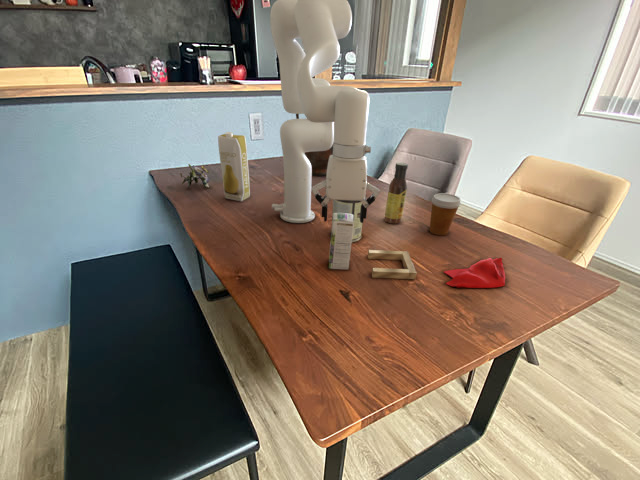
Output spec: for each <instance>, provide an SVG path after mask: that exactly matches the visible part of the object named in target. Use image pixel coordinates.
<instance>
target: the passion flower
mask: <svg viewBox="0 0 640 480" xmlns="http://www.w3.org/2000/svg"><path fill="white" fill-rule="evenodd" d="M188 167H189V168H190V170H191V171H189V172H188V174H189V175H187V176H184V175H183V173H182V172H179V175H180V177H181V178H184V179H183V181H182V183H181V185H184V184H185V183H186V182H187V189H189V188H190V186H191V185H192V183H193V182H194V183H195V184H198V183H199V179H200V180H201V182H202V185H203V186H204V188H207V189H210V186H209V182H210V181H209V180H210V179H209V178H208V177H209V176H208V175H207V174H210V172H209V170H208V169H207V168H206V167H205V165H201V168H199V167H198V166H197V165H193V164H192V165H191V164H190V163H188ZM206 173H207V174H206Z"/></svg>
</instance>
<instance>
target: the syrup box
mask: <svg viewBox="0 0 640 480" xmlns="http://www.w3.org/2000/svg"><path fill="white" fill-rule="evenodd" d="M353 227H354V215H353V214H348V213H333V222H332V221H331V230H332V231H331V230H330V231H331V233H330V244H329V257H328V269H329V270H346V271H347V270H349V268H350V260H351V251H352V243H353V242H352V236H353Z"/></svg>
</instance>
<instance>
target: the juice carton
mask: <svg viewBox="0 0 640 480" xmlns="http://www.w3.org/2000/svg"><path fill="white" fill-rule="evenodd" d="M217 141H218V142H217V143H218V152H219V153H218V154H219V162H220V169H221V170H220V171H221V179H222V186H223V195H224V198H225V199H227V200H232V201H238V202H244V201H246V200H247V199H248V198H250V196H251V188H250V187H251V186H250V185H251V183H250V171H249V160H248V146H247V139H246V135H244V134H243V135H242V134H234V133H233V132H232V131H226V132H224V133H222V134H220V135H218V136H217Z"/></svg>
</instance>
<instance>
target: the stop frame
mask: <svg viewBox="0 0 640 480" xmlns="http://www.w3.org/2000/svg"><path fill="white" fill-rule="evenodd" d="M367 259H369V260H389V261H401V263H402V266H403V268H387V267H372V268H371V277H372V279H373V278H374V279H376V278H377V279H399V280H400V279H401V280H402V279H403V280H416V278H417V275H418V273H417V270H416V268H415V266H414V263H413V261H412V258H411V256H410V253H409V251H407V250H405V251H404V250H383V249H381V250H380V249H379V250H378V249H368V250H367Z"/></svg>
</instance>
